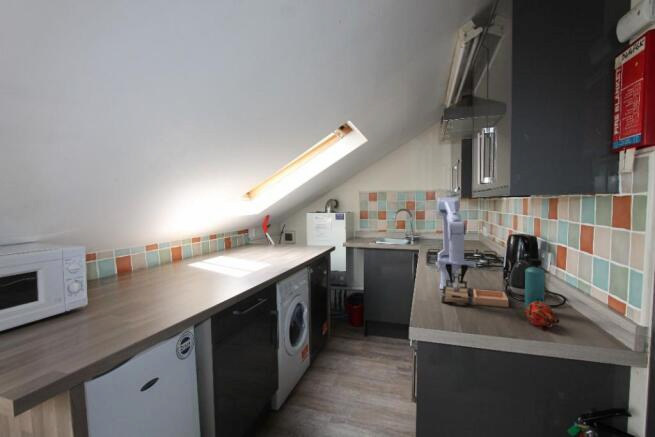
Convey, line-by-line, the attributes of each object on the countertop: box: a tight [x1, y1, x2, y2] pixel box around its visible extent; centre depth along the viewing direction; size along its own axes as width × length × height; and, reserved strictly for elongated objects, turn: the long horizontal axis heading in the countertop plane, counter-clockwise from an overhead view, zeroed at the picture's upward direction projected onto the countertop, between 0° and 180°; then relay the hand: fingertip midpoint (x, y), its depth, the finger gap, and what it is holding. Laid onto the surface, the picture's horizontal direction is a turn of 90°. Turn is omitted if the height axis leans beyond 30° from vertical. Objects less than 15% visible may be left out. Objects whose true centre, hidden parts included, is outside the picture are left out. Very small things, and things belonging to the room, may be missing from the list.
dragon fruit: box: [524, 301, 561, 329], centre depth 106 cm, size 8×8×12 cm
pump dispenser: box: [508, 259, 535, 297], centre depth 140 cm, size 10×10×15 cm
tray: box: [472, 288, 509, 309], centre depth 131 cm, size 12×12×3 cm
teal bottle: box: [523, 258, 546, 308], centre depth 119 cm, size 6×7×20 cm
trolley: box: [441, 280, 473, 306], centre depth 136 cm, size 20×11×6 cm, turn 158°
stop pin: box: [452, 272, 461, 292], centre depth 130 cm, size 3×3×8 cm
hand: (456, 282), depth 130 cm, fingers closed on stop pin, 3 cm apart
